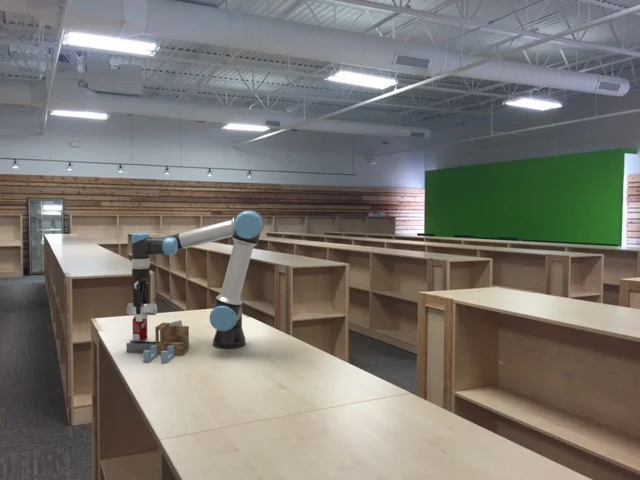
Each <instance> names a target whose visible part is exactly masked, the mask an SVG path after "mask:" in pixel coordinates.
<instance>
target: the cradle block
mask: <svg viewBox="0 0 640 480" xmlns="http://www.w3.org/2000/svg"><path fill="white" fill-rule="evenodd" d="M142 355H143V363H151V362H152V361H153V360H155V359H156V358H157V357H158V355H157V345H151V346H150V350H144V351H143V353H142ZM173 358H175V355H174V346H168V347H167V351H161V355H160V360H161V361H160V362H161V364H168V363H169V362H170V361H171V360H172V359H173Z"/></svg>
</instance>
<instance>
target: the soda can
mask: <svg viewBox="0 0 640 480" xmlns="http://www.w3.org/2000/svg"><path fill="white" fill-rule="evenodd" d="M131 322H132V324H131V325H132V341H148V318H147V319H143V321H142V322H141V321H136V315H133V318H132V321H131Z"/></svg>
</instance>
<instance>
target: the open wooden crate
mask: <svg viewBox="0 0 640 480" xmlns="http://www.w3.org/2000/svg"><path fill="white" fill-rule="evenodd" d="M169 323H170V322H162V323H160V324H159V325H157V326H155V327H154V328H155V329H154V330H155V342H156V345H157V356H161V351H167V347H168V346H174V356H180V357H181V356H183V357H184V355H185V354H186V353H187V352H188V351H190V347H189V345H190V341H189V340H190V339H189V336H190V332H189V331H190V330H189V328H190V326H189V325H182V326H169Z"/></svg>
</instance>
